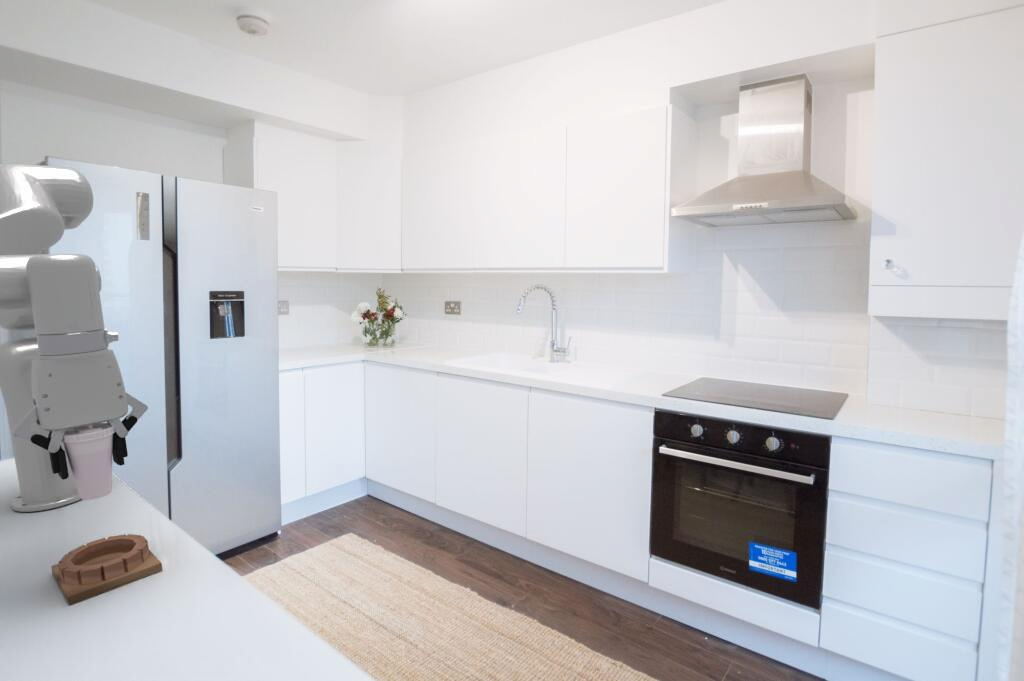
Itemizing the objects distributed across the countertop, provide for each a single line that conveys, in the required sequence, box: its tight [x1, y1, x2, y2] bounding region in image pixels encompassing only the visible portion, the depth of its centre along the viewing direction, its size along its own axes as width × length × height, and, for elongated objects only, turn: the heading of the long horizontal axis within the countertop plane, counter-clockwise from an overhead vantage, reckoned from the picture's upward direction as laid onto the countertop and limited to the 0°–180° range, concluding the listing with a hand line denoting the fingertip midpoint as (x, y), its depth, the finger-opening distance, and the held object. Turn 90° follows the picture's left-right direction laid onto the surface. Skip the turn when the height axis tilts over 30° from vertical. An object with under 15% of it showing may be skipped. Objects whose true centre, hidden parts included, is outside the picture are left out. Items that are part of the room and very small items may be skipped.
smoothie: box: [61, 422, 115, 501], centre depth 81 cm, size 6×6×14 cm
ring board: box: [51, 533, 163, 606], centre depth 84 cm, size 12×11×3 cm
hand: (92, 468), depth 81 cm, fingers closed on smoothie, 5 cm apart
